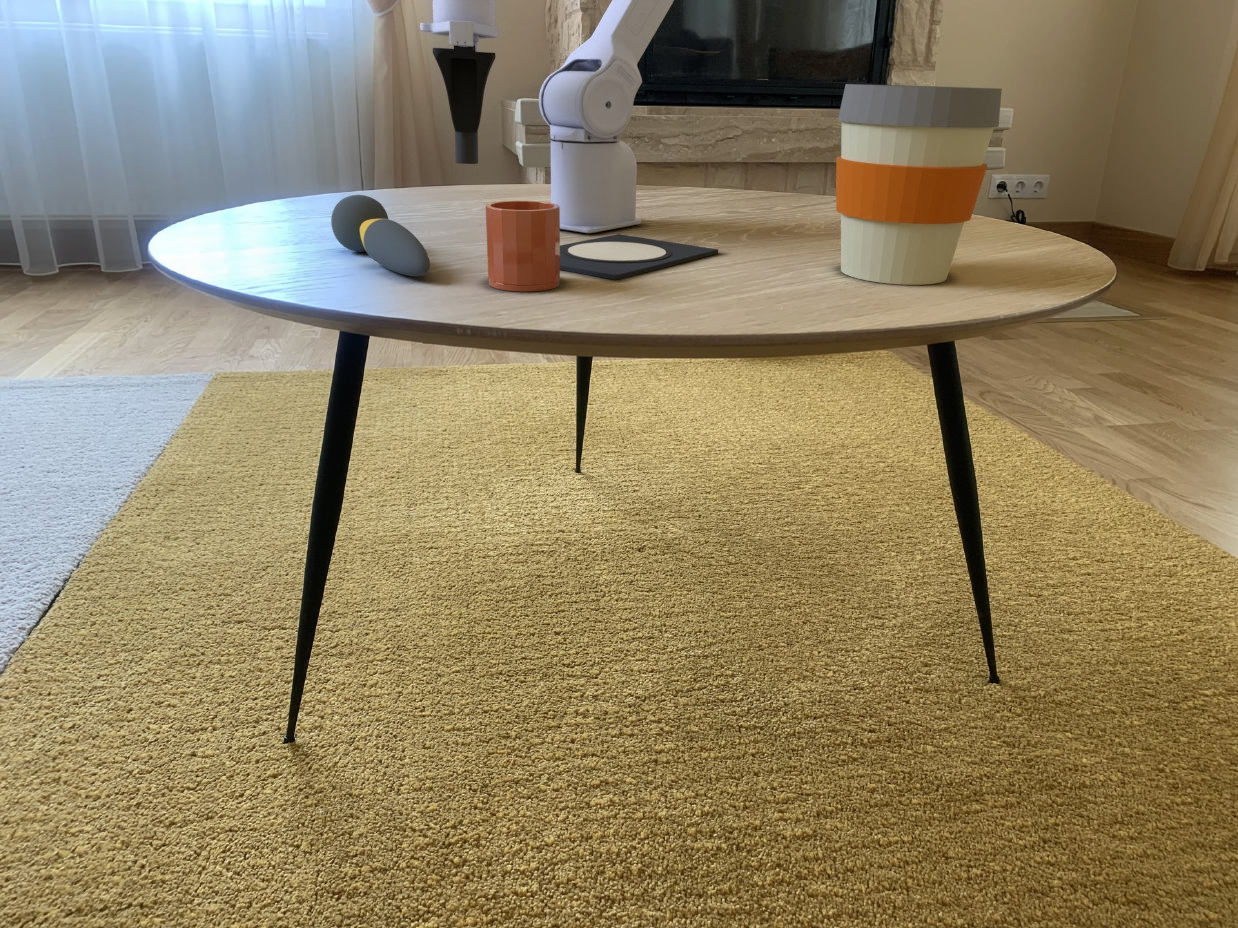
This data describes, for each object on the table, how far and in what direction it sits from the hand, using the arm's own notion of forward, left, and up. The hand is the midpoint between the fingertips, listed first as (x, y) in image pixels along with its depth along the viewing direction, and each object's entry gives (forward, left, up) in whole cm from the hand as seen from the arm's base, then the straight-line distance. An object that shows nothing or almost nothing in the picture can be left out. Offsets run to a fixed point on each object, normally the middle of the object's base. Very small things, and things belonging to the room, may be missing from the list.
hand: (466, 131), depth 84 cm
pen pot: (+13, +19, -10) cm, 25 cm away
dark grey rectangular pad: (-1, +18, -10) cm, 20 cm away
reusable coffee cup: (-12, +40, -10) cm, 43 cm away
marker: (0, 0, -3) cm, 3 cm away
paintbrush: (+14, +5, -10) cm, 18 cm away
